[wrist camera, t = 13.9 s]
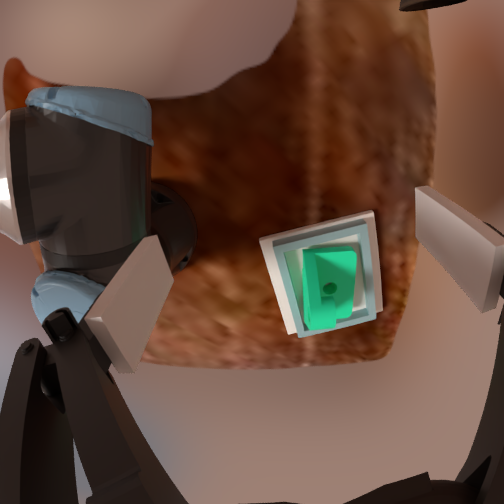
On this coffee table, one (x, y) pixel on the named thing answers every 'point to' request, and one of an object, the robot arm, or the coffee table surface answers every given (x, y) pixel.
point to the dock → (366, 282)
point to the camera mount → (328, 296)
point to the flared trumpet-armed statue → (425, 4)
